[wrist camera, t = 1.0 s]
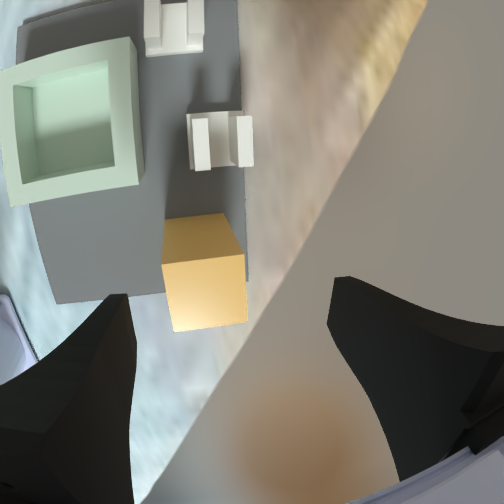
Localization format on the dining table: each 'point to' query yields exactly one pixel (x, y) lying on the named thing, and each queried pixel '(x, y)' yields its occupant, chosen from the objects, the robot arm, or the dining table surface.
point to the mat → (154, 153)
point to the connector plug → (203, 272)
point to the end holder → (71, 122)
